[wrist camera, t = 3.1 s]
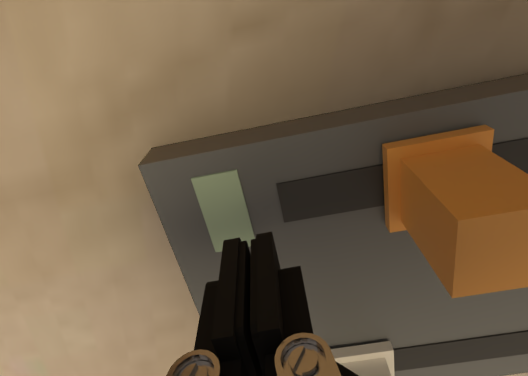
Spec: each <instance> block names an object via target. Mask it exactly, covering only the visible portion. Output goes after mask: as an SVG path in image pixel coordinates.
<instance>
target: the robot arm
mask: <svg viewBox="0 0 528 376" xmlns="http://www.w3.org/2000/svg"><path fill="white" fill-rule="evenodd" d="M166 376H359V375H357V374H356V373H354V372H352V371H351V370H349V369H348V368H346V367H344V366H343V365H341V364H340V363H338V362H336V361H335V359H334V356H333V354H332V352H331V349H330V347H329V346H328V344H327V343H326V341H324V340H323V339H322V338H321V337H319V336H317V335H315V334H313V329H312V323H311V318H310V313H309V308H308V302H307V297H306V292H305V287H304V282H303V276H302V271H301V266H296V267H290V268H285V269H281V268H280V264H279V260H278V255H277V251H276V246H275V242H274V238H273V234H272V231H271V232H266V233H261V234H256V239H251V254H250V250H249V247H248V243H247V241H241V239H240V237H239V238H233V239H228V240H224V242H223V248H222V256H221V264H220V272H219V280H217V281H211V282H207V283H206V285H205V290H204V296H203V301H202V307H201V313H200V319H199V324H198V330H197V336H196V342H195V347H194V351H191V352H188V353H186V354H184V355H183V356H181V357H180V358H179V359H177V360H176V362H175V363H174V364H173V365H172V366H171V368H170V369H169V371H168V373H167V375H166Z"/></svg>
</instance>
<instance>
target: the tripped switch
mask: <svg viewBox="0 0 528 376" xmlns="http://www.w3.org/2000/svg"><path fill="white" fill-rule="evenodd" d="M493 137H494V129H493V128H491V127H489V126H487V125H480V126H475V127H469V128H464V129H459V130H453V131H448V132H443V133H437V134H432V135H427V136H421V137H416V138H411V139H406V140H400V141H395V142H390V143H384V144H382V155H383V180H384V205H385V225H386V227H387V229H388V231H389V232H390V233H392V232H398V231H404V230H407V231H408V233H409V234H410V236H411V237H412V239H413V240H414V242H415V243H416V245H417V246H418V248H419V249H420V251H421V252H422V254H423V255H424V257H425V258H426V260H427V261H428V263H429V264H430V266H431V267H432V269H433V270H434V272H435V273H436V275H437V276H438V278H439V279H440V281H441V282H442V284H443V285H444V287H445V288H446V290H447V291H448V293H449V294H450V296H451V297H452V298H458V297H465V296H471V295H478V294H485V293H492V292H498V291H505V290H512V289H519V288H525V287H528V174H527V173H525V172H524V171H522V170H521V169H519V168H517V167H516V166H514V165H512V164H511V163H509V162H508V161H506V160H504V159H503V158H501V157H499V156H498V155H496V154H495V153H493V152H492V145H493Z"/></svg>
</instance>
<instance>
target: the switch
mask: <svg viewBox="0 0 528 376" xmlns="http://www.w3.org/2000/svg"><path fill="white" fill-rule="evenodd" d="M331 352H332V354H333V356H334V359H335V361H336V362H338V363H340V364H341V365H343V366H344V367H346V368H348V369H349V370H351V371H352V372H354V373H356V374H357V375H359V376H395V373H394V350H393V347H392V345H391V342H390V341H385V342H378V343H371V344H364V345H357V346H350V347H343V348H335V349H331Z"/></svg>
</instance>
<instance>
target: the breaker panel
mask: <svg viewBox="0 0 528 376" xmlns="http://www.w3.org/2000/svg"><path fill="white" fill-rule="evenodd" d="M480 125H487V126H489V127H491V128H493V129H494V137H493V145H492V152H493V153H495V154H496V155H498V156H499V157H501V158H503V159H504V160H506V161H508V162H509V163H511V164H512V165H514V166H516V167H517V168H519V169H521V170H522V171H524V172H525V173H527V174H528V74H523V75H518V76H513V77H508V78H503V79H498V80H493V81H488V82H483V83H478V84H473V85H468V86H463V87H458V88H453V89H448V90H443V91H437V92H432V93H427V94H422V95H417V96H412V97H407V98H402V99H397V100H392V101H387V102H382V103H377V104H372V105H367V106H362V107H357V108H352V109H347V110H342V111H337V112H332V113H327V114H321V115H316V116H311V117H306V118H301V119H296V120H291V121H286V122H281V123H276V124H271V125H266V126H261V127H256V128H251V129H246V130H241V131H236V132H231V133H226V134H221V135H216V136H210V137H205V138H200V139H195V140H190V141H185V142H180V143H175V144H170V145H165V146H160V147H155V148H151V150H150V151H149V152H148V154H147V155H146V156H145V157H144V159H143V160H142V161H141V162H140V164H139V165H138V166H139V169H140V171H141V174H142V176H143V179H144V181H145V183H146V186H147V188H148V191H149V193H150V196H151V198H152V201H153V203H154V205H155V208H156V210H157V213H158V215H159V218H160V220H161V223H162V225H163V227H164V230H165V232H166V235H167V237H168V240H169V242H170V244H171V247H172V249H173V252H174V254H175V257H176V259H177V262H178V264H179V266H180V269H181V271H182V274H183V276H184V279H185V281H186V283H187V286H188V288H189V291H190V293H191V296H192V298H193V301H194V303H195V305H196V308H197V310H198V313H199V315H200V313H201V307H202V301H203V296H204V290H205V285H206V283H207V282H211V281H217V280H219V272H220V264H221V256H222V248H223V242H224V240H228V239H233V238H239V237H240V239H241V241H247V243H248V247H249V250H250V254H251V239H256V234H261V233H266V232H271V231H272V234H273V238H274V242H275V246H276V251H277V255H278V260H279V264H280V268H281V269H285V268H290V267H296V266H301V271H302V276H303V282H304V287H305V292H306V297H307V302H308V308H309V313H310V318H311V323H312V329H313V334H315V335H317V336H319V337H321V338H322V339H323V340H324V341H326V343H327V344H328V346H329V347H330V349H335V348H343V347H350V346H357V345H364V344H371V343H378V342H385V341H390V342H391V345H392V347H393V350H394V373H395V376H503V375H511V374H519V373H527V372H528V287H525V288H519V289H512V290H505V291H498V292H492V293H485V294H478V295H471V296H465V297H458V298H452V297H451V296H450V294H449V293H448V291H447V290H446V288H445V287H444V285H443V284H442V282H441V281H440V279H439V278H438V276H437V275H436V273H435V272H434V270H433V269H432V267H431V266H430V264H429V263H428V261H427V260H426V258H425V257H424V255H423V254H422V252H421V251H420V249H419V248H418V246H417V245H416V243H415V242H414V240H413V239H412V237H411V236H410V234H409V233H408V231H407V230H404V231H398V232H392V233H390V232H389V231H388V229H387V227H386V225H385V205H384V180H383V155H382V144H384V143H390V142H395V141H400V140H406V139H411V138H416V137H421V136H427V135H432V134H437V133H443V132H448V131H453V130H459V129H464V128H469V127H475V126H480Z"/></svg>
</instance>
